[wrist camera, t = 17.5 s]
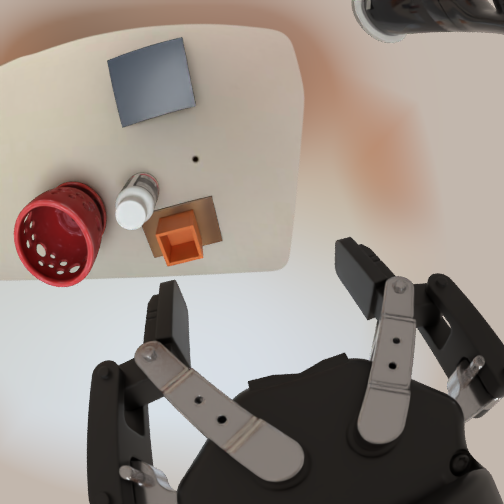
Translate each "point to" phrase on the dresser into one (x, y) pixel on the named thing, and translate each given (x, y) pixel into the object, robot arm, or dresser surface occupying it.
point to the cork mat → (203, 217)
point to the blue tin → (151, 81)
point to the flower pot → (61, 233)
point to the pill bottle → (136, 201)
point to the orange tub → (179, 238)
